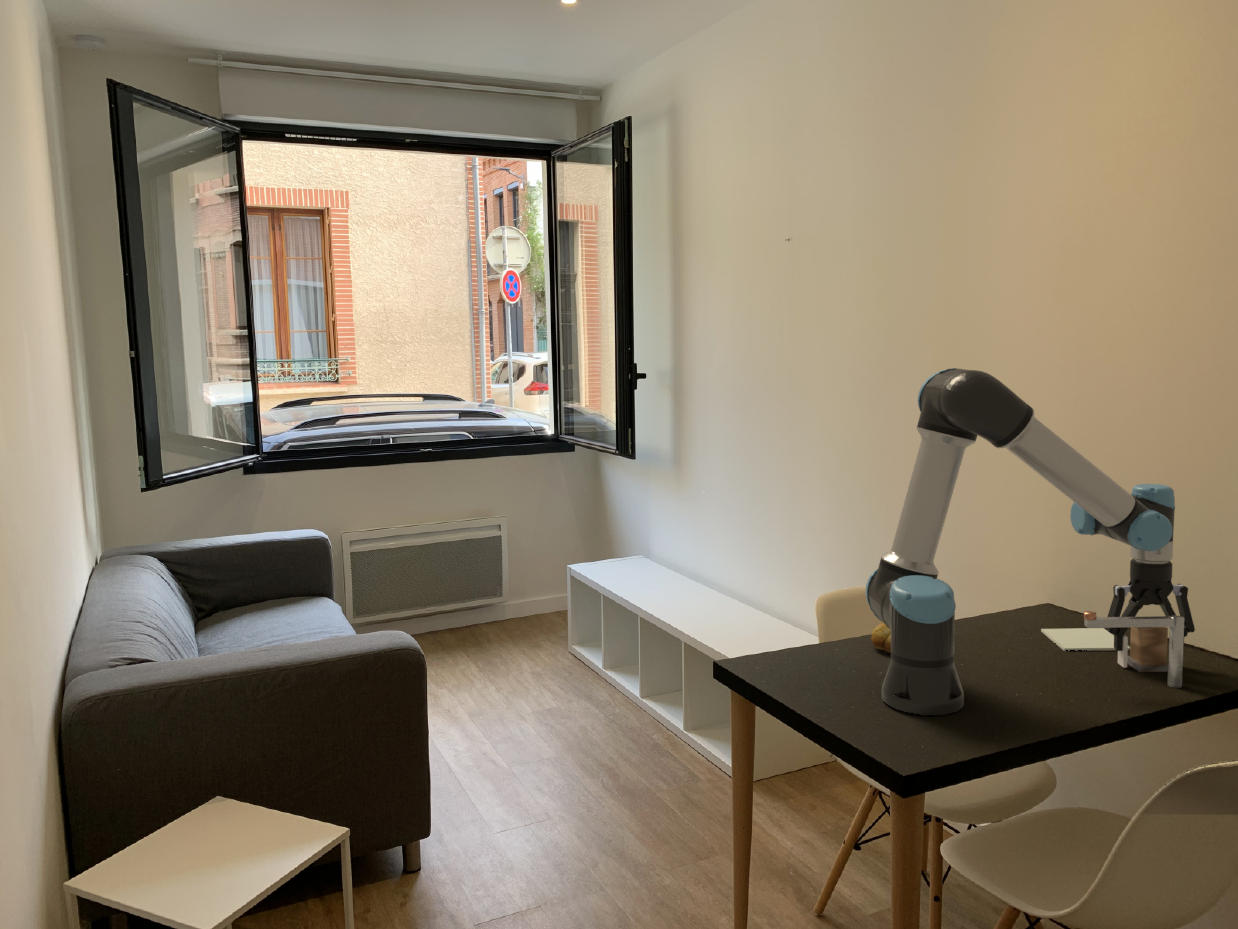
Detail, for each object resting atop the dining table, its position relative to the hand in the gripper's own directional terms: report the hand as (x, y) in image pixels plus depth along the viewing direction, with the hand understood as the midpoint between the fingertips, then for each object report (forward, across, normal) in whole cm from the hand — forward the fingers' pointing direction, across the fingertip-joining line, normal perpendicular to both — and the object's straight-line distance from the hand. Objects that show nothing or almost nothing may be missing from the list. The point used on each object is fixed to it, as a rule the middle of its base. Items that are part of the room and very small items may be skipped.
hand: (1147, 665), depth 193 cm
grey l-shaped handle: (0, -8, -11) cm, 14 cm away
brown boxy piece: (0, 0, 0) cm, 0 cm away
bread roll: (+1, -48, +11) cm, 50 cm away
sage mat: (0, -6, +17) cm, 18 cm away
